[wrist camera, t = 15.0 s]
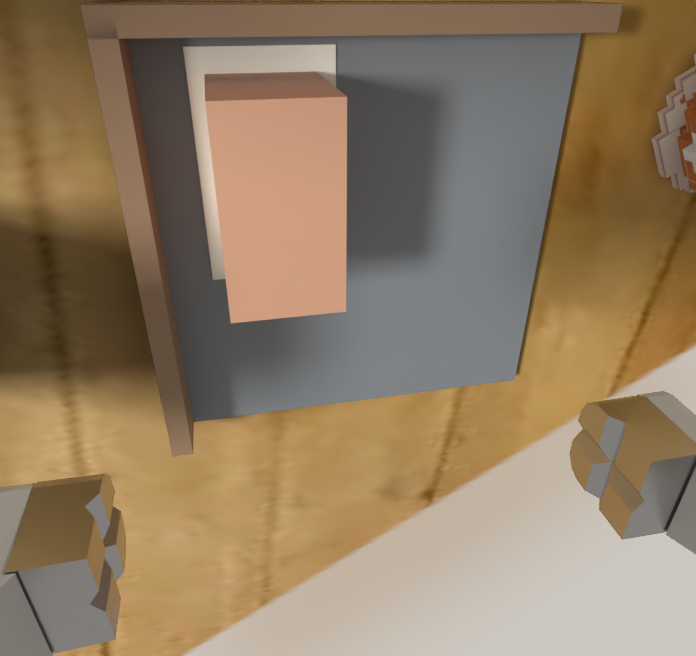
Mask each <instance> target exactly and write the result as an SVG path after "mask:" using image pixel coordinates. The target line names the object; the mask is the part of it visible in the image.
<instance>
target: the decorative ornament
mask: <svg viewBox="0 0 696 656" xmlns="http://www.w3.org/2000/svg"><path fill="white" fill-rule="evenodd" d="M694 59H695V66H694V67H692V68H691V69H689V70H687V71H686V72H684V73H682V74H681V75H679V76H677V77H676V78H674V80H675V85H676V90H674V91H672V92H671V93H669V94H667V95H666V100H667V105H668V106H667V107H665V108H663V109H662V110H660V111H658V112H657V113H658V118H659V122H660V127H661V133H659V134H658V135H656V136H654V137H653V138H651V139H652V143H653V148H654V152H655V157H656V162H657V166H658V171H659V175H660V176H662V177H664V178H666V179H667V178H669V177H670V176H671V181H672V186H673V188H675V189H678V190H682V189H684V191H686V192H689V193H691V194H692V193H694V192H695V194H696V53H695V54H694Z"/></svg>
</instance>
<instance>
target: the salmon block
mask: <svg viewBox="0 0 696 656" xmlns="http://www.w3.org/2000/svg"><path fill="white" fill-rule="evenodd" d="M204 81H205V106H206V114H207V123H208V132H209V140H210V149H211V157H212V166H213V175H214V183H215V192H216V200H217V209H218V218H219V226H220V235H221V243H222V252H223V261H224V269H225V278H226V286H227V295H228V304H229V312H230V321H231V323H240V322H249V321H259V320H269V319H279V318H289V317H298V316H308V315H318V314H328V313H338V312H346V241H347V96H346V95H344V94H343V93H342V92H341V91H340V90H338V89H337V88H336V87H335V86H334V85H332V84H331V83H330V82H329V81H327V80H326V79H325V78H324V77H323V76H321V75H320V74H319V73H318V72H317V71H312V72H270V73H228V74H204Z"/></svg>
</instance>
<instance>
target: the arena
mask: <svg viewBox="0 0 696 656" xmlns="http://www.w3.org/2000/svg"><path fill="white" fill-rule="evenodd" d="M80 8H81V13H82V17H83V22H84V27H85V32H86V37H87V42H88V47H89V52H90V56H91V61H92V66H93V71H94V76H95V81H96V86H97V90H98V95H99V100H100V105H101V110H102V115H103V120H104V124H105V129H106V134H107V139H108V144H109V149H110V154H111V158H112V163H113V168H114V173H115V178H116V183H117V188H118V192H119V197H120V202H121V207H122V212H123V217H124V222H125V227H126V231H127V236H128V241H129V246H130V251H131V256H132V261H133V265H134V270H135V275H136V280H137V285H138V290H139V295H140V299H141V304H142V309H143V314H144V319H145V324H146V329H147V333H148V338H149V343H150V348H151V353H152V358H153V363H154V367H155V372H156V377H157V382H158V387H159V392H160V397H161V401H162V406H163V411H164V416H165V421H166V426H167V431H168V436H169V440H170V445H171V450H172V455H173V456H179V455H186V454H193V428H194V422H197V421H205V420H213V419H220V418H228V417H235V416H243V415H251V414H258V413H266V412H273V411H281V410H289V409H296V408H304V407H312V406H319V405H327V404H334V403H342V402H350V401H357V400H365V399H372V398H380V397H388V396H395V395H403V394H410V393H418V392H426V391H433V390H441V389H448V388H456V387H464V386H471V385H479V384H486V383H494V382H502V381H509V380H515V376H516V371H517V365H518V360H519V355H520V350H521V345H522V340H523V334H524V329H525V324H526V319H527V314H528V308H529V303H530V298H531V293H532V288H533V282H534V277H535V272H536V267H537V262H538V257H539V251H540V246H541V241H542V236H543V231H544V225H545V220H546V215H547V210H548V205H549V199H550V194H551V189H552V184H553V179H554V174H555V168H556V163H557V158H558V153H559V148H560V142H561V137H562V132H563V127H564V122H565V117H566V111H567V106H568V101H569V96H570V91H571V85H572V80H573V75H574V70H575V65H576V59H577V54H578V49H579V44H580V39H581V34H582V33H617V30H618V26H619V21H620V17H621V12H622V8H623V4H618V3H602V2H586V1H162V2H91V3H86V4H82V5H80ZM312 71H317V72H318V73H319V74H320V75H321V76H323V77H324V78H325V79H326V80H327V81H329V82H330V83H331V84H332V85H334V86H335V87H336V88H337V89H338V90H340V91H341V92H342V93H343V94H344V95H346V96H347V241H346V312H338V313H328V314H318V315H308V316H298V317H289V318H279V319H269V320H259V321H249V322H240V323H231V321H230V312H229V304H228V295H227V286H226V278H225V269H224V261H223V252H222V243H221V235H220V226H219V218H218V209H217V200H216V192H215V183H214V175H213V166H212V157H211V149H210V140H209V132H208V123H207V114H206V106H205V81H204V74H228V73H270V72H312Z"/></svg>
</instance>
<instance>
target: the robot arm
mask: <svg viewBox="0 0 696 656" xmlns="http://www.w3.org/2000/svg"><path fill="white" fill-rule="evenodd" d="M578 421H579V423H580V424H581V426H582V428H583V430H582V431H581V432H580V433H579V434H578V435H577V436H576V437H575V438H574V439H573V442H572V446H571V450H570V458H571V465H572V470H573V472H574V474H575V476H576V478H577V480H578V482H579V483H580V484H581V486H582V487H583V489H584V490H585V491H587V492H589V493H591V494H593V495H594V496H596V497H598V498H600V503H599V510H600V511H601V512H602V514H603V515H604V516H605V518H606V519H607V520H608V522H609V523H610V524H611V526H612V527H613V528H614V529H615V531H616V532H617V533H618V535H619V536H620V537H621V539H628V538H634V537H640V536H646V535H651V534H657V533H664V532H667V533H666V535H667V536H669V537H670V538H672V539H674V540H675V541H676V542H678V543H679V544H681V545H683V546H684V547H685V548H687V549H689V550H690V551H692V552H693V553H695V554H696V415H695V414H693V413H692V412H691V411H690V410H689V409H688V408H687V407H686V406H684V405H683V404H682V403H681V402H680V401H679V400H678V399H676V398H675V397H674V396H673V395H671V394H669V393H667V392H664V391H660V392H654V393H648V394H641V395H637V396H630V397H624V398H618V399H611V400H605V401H598V402H592V403H587V404H586V405H585V406H584V407H583V409H582V410H581V413H580V416H579V420H578ZM114 493H115V490H114V487H113V484H112V481H111V478H110V476H109V475H107V474H99V475H91V476H83V477H74V478H66V479H58V480H50V481H42V482H37V483H33V484H24V485H15V486H7V487H1V488H0V656H53V655H52V654H54V653H59V652H63V651H67V650H72V649H76V648H81V647H85V646H90V645H94V644H99V643H103V642H107V641H112V640H115V638H116V631H117V623H118V616H119V608H120V600H121V597H120V594H119V591H118V587H117V584H116V581H117V580H118V579H119V577H120V576H121V575H122V574H123V573H124V568H125V559H126V536H125V529H124V522H123V518H122V515H121V511H119V510H118V509H116V508H115V507H113V499H114Z"/></svg>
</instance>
